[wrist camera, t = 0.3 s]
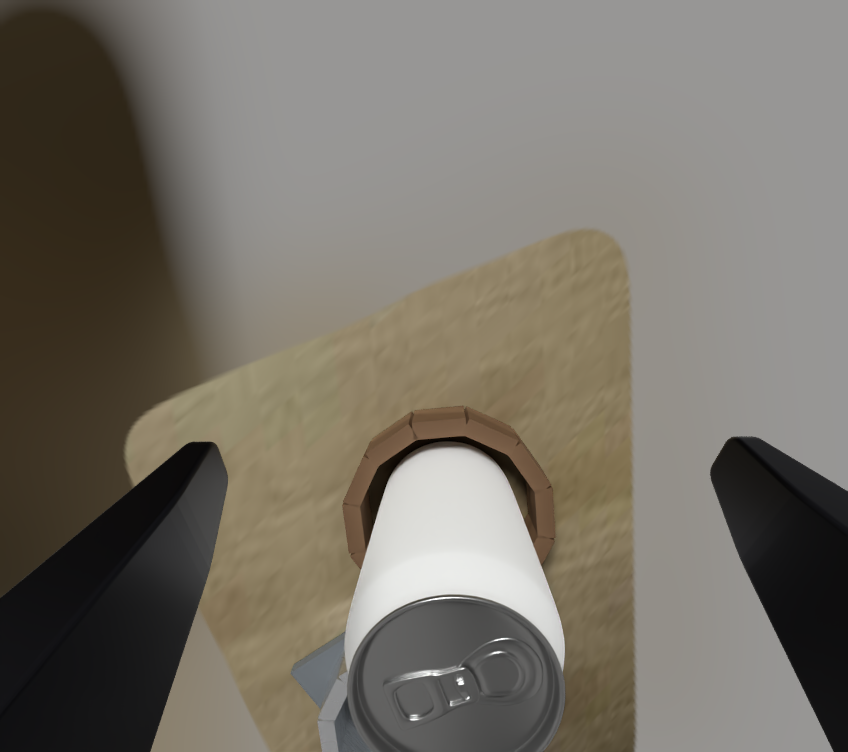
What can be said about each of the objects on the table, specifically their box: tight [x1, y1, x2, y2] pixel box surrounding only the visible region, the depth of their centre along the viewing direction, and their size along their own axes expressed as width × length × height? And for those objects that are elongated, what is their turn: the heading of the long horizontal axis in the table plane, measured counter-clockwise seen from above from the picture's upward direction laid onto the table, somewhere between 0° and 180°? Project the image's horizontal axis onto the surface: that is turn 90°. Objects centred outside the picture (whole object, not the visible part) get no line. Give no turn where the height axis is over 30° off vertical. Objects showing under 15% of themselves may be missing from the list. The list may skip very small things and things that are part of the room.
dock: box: [291, 631, 372, 752], centre depth 24 cm, size 10×10×3 cm
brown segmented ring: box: [342, 406, 556, 569], centre depth 23 cm, size 10×10×2 cm
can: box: [344, 441, 565, 752], centre depth 18 cm, size 6×6×12 cm
